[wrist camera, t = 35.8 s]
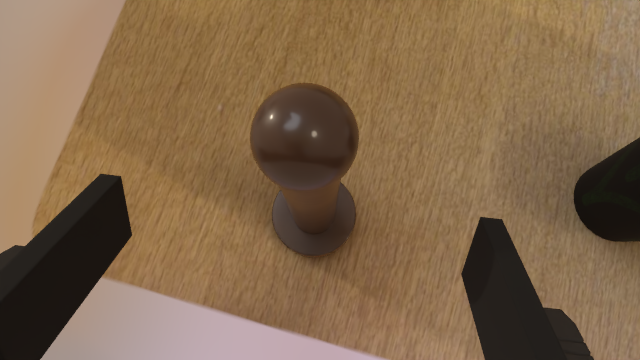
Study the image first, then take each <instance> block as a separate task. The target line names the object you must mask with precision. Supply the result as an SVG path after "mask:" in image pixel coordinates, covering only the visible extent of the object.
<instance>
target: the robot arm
mask: <svg viewBox="0 0 640 360" xmlns="http://www.w3.org/2000/svg"><path fill="white" fill-rule="evenodd" d="M131 236H132V232H131V227H130V222H129V216H128V211H127V206H126V200H125V195H124V190H123V184H122V179H121V176H114V175H106V174H100V175H99V176H98V177H97V178H96V179H95V180H94V181H93V182H92V183H91V184H90V185H89V186H88V187H86V188H85V189H84V190H83V191H82V192H81V193H80V194H79V195H78V196H77V197H76V198H75V199H74V200H73V201H72V202H71V203H70V204H69V205H68V206H67V207H66V208H65V209H63V210H62V211H61V212H60V213H59V214H58V215H57V216H56V217H55V218H54V219H53V220H52V221H51V222H50V223H49V224H48V225H47V226H46V227H45V228H44V229H43V230H42V231H40V232H39V233H38V234H37V235H36V236H35V237H34V238H33V239H32V240H31V241H30V242H29V243H28V244H27V245H26V246H18V245H15V246H13V247H12V248H10V249H8V250H6V251H4V252H2V253H1V254H0V360H40V359H41V358H42V356H43V355H44V354H45V352H46V351H47V349H48V348H49V347H50V346H51V344H52V343H53V341H54V340H55V339H56V337H57V336H58V335H59V333H60V332H61V331H62V329H63V328H64V326H65V325H66V324H67V323H68V321H69V320H70V318H71V317H72V316H73V314H74V313H75V312H76V310H77V309H78V308H79V306H80V305H81V304H82V302H83V301H84V300H85V298H86V297H87V296H88V294H89V293H90V291H91V290H92V289H93V287H94V286H95V285H96V283H97V282H98V281H99V279H100V278H101V277H102V275H103V274H104V273H105V271H106V270H107V268H108V267H109V266H110V264H111V263H112V262H113V260H114V259H115V258H116V256H117V255H118V254H119V252H120V251H121V250H122V248H123V247H124V246H125V244H126V243H127V241H128V240H129V239H130V237H131ZM461 275H462V278H463V282H464V285H465V289H466V293H467V296H468V300H469V303H470V307H471V311H472V314H473V318H474V321H475V325H476V329H477V332H478V336H479V339H480V343H481V347H482V350H483V354H484V357H485V360H594V359H593V357H592V356H590V351H589V349H588V347H587V345H586V343H584V342H583V341H584V340H583V338H582V336H581V334H580V332H579V330H578V328H577V326H576V325H575V323H574V322H573V321H572V320H571V319H570V318H569V317H568V316H567V315H566V314H565V313H564V312H563V311H562V310H560V309H552V308H543V306H542V304H541V302H540V300H539V298H538V295H537V293H536V291H535V289H534V287H533V285H532V283H531V280H530V278H529V276H528V274H527V272H526V270H525V268H524V265H523V263H522V261H521V259H520V257H519V255H518V253H517V250H516V248H515V246H514V244H513V242H512V240H511V238H510V235H509V233H508V231H507V229H506V227H505V225H504V223H503V220H502V219H493V218H485V217H480V220H479V223H478V226H477V229H476V232H475V235H474V238H473V241H472V244H471V247H470V250H469V253H468V256H467V259H466V262H465V265H464V268H463V271H462V274H461Z"/></svg>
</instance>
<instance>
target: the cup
mask: <svg viewBox="0 0 640 360" xmlns="http://www.w3.org/2000/svg"><path fill="white" fill-rule="evenodd" d="M574 203H575V208H576V211H577V213H578V215H579V217H580V219H581V220H582V222H583V223H584V224H585V225H586V227H587V228H588V229H590V230H591V231H592V232H593V233H595V234H596V235H598V236H600V237H602V238H604V239H607V240H611V241H621V242H628V241H640V138H638V139H636V140H635V141H633V142H632V143H630V144H628V145H627V146H625V147H624V148H622V149H621V150H619V151H617V152H616V153H614V154H613V155H611V156H609V157H608V158H606V159H605V160H603V161H601V162H600V163H598V164H597V165H595V166H593V167H592V168H590V169H589V170H587V171H586V172H585V173H584V174H583V175H582V176H581V177H580V178H579V180H578V182H577V183H576V187H575V190H574Z"/></svg>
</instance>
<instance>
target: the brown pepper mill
mask: <svg viewBox="0 0 640 360" xmlns="http://www.w3.org/2000/svg"><path fill="white" fill-rule="evenodd" d="M358 143H359V131H358V126H357V122H356V119H355V116H354V114H353V112H352V110H351V109H350V107H349V106H348V104H347V103H346V102H345V101H344V100H343V99H342V98H341V97H340V96H339V95H338V94H337V93H335V92H334V91H332V90H330V89H328V88H326V87H324V86H321V85H317V84H312V83H297V84H292V85H288V86H285V87H283V88H280V89H279V90H277V91H275V92H274V93H272V94H271V95H270V96H268V97H267V98H266V99H265V100H264V101H263V103H262V104H261V105H260V107H259V108H258V110H257V112H256V114H255V116H254V118H253V121H252V125H251V131H250V144H251V150H252V153H253V157H254V159H255V161H256V163H257V165H258V167H259V168H260V170H261V171H262V172H263V173H264V174H265V176H266V177H268V178H269V179H270V180H271V181H272V182H274V183H275V184H277V185H279V186H280V189H281V190H280V191H279V193H278V194H277V196H276V198H275V201H274V204H273V209H272V220H273V225H274V229H275V231H276V233H277V235H278V237H279V238H280V239H281V241H282V242H283V243H284V244H285V245H286V246H287V247H288V248H289V249H290V250H292V251H293V252H295V253H297V254H299V255H302V256H306V257H322V256H326V255H329V254H331V253H333V252H335V251H336V250H338V249H339V248H340V247H342V246H343V244H344V243H345V242H346V241H347V239H348V238H349V236H350V234H351V232H352V230H353V227H354V224H355V217H356V211H355V205H354V201H353V199H352V196H351V194H350V193H349V191H348V190H347V189H346V187H345V186H344V185H343V184H342V183H341V182H340V180H341V178H342V177H343V176H344V175H345V174H346V172H347V171H348V170H349V168H350V167H351V165H352V163H353V161H354V159H355V156H356V154H357V150H358Z"/></svg>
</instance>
